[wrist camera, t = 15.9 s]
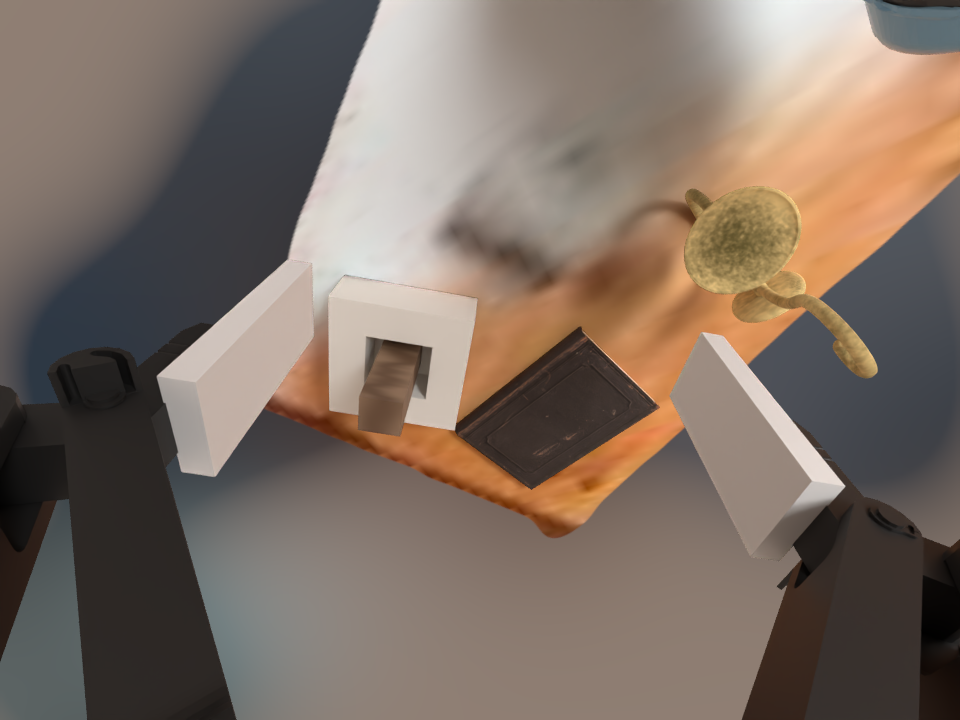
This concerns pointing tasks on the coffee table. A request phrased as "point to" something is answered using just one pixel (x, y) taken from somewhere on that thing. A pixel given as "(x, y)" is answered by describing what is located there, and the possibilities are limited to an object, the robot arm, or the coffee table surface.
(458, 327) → the grey well block
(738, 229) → the wall sconce
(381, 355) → the walnut peg
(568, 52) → the coffee table surface
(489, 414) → the hardcover book
